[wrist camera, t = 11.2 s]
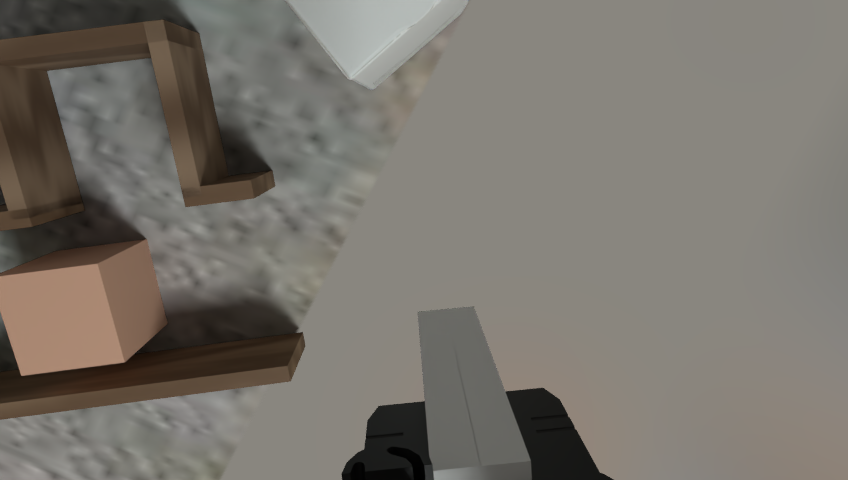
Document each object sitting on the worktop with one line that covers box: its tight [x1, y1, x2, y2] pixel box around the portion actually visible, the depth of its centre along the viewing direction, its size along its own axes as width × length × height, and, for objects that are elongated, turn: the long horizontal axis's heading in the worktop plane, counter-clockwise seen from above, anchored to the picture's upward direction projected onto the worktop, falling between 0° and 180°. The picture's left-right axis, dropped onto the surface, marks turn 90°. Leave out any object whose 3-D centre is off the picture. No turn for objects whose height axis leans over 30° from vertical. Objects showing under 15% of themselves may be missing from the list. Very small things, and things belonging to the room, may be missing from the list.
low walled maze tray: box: [0, 171, 305, 420], centre depth 40 cm, size 14×27×6 cm, turn 97°
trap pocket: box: [0, 19, 229, 219], centre depth 37 cm, size 11×12×6 cm
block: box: [0, 239, 168, 376], centre depth 39 cm, size 7×7×7 cm
